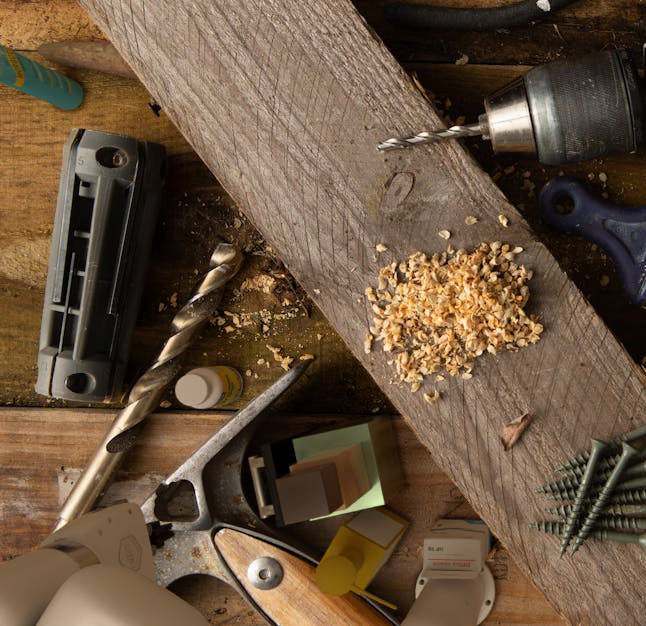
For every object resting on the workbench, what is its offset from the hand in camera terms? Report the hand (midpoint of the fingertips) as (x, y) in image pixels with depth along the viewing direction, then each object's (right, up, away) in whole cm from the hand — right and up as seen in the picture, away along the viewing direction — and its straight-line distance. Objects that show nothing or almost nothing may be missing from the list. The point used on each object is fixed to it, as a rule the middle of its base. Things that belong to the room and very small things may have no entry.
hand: (161, 531), depth 93 cm
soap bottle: (+19, -10, +34) cm, 40 cm away
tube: (-33, +61, +33) cm, 77 cm away
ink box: (+30, -10, +34) cm, 46 cm away
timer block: (+15, +3, +9) cm, 18 cm away
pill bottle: (-8, +14, +33) cm, 37 cm away
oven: (+14, +3, +34) cm, 36 cm away
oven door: (+6, +1, +34) cm, 34 cm away
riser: (+15, +3, +21) cm, 26 cm away
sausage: (-28, +64, +28) cm, 75 cm away
